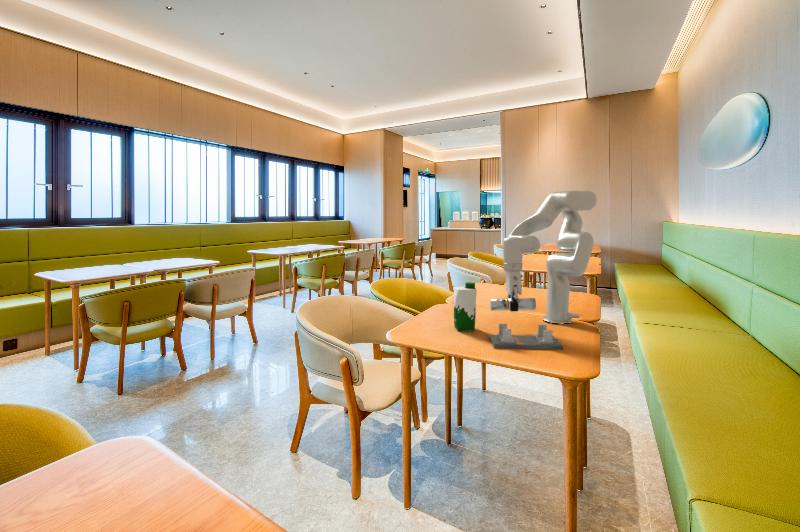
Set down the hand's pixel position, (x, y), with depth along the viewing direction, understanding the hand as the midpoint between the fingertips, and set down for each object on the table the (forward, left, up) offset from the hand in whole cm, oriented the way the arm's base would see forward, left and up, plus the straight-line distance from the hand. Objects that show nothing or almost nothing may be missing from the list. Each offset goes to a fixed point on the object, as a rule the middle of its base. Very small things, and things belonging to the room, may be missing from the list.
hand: (512, 309), depth 172 cm
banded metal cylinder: (0, 0, +2) cm, 2 cm away
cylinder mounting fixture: (-1, +18, -9) cm, 20 cm away
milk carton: (+20, -1, -10) cm, 22 cm away
